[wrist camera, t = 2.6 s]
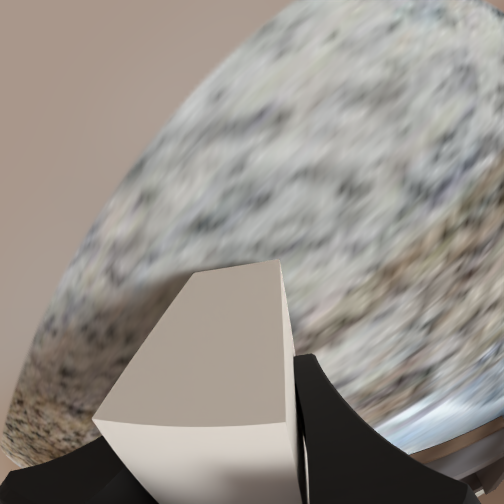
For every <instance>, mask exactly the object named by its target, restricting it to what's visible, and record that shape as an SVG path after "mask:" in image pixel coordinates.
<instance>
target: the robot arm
mask: <svg viewBox="0 0 504 504" xmlns="http://www.w3.org/2000/svg"><path fill="white" fill-rule="evenodd" d="M293 365H294V378H295V384H296V391H297V397H298V403H299V410H300V417H301V423H302V430H303V436H304V441H305V446H306V452H307V463H308V484H309V504H481V503H480V501H479V500H478V498H477V496H476V495H475V493H474V492H473V490H472V489H471V488H470V486H469V485H468V484H466V483H464V482H461V481H459V480H456V479H454V478H451V477H449V476H447V475H444V474H442V473H440V472H438V471H436V470H434V469H432V468H430V467H428V466H426V465H424V464H423V463H421V462H419V461H417V460H415V459H414V458H412V457H411V456H409V455H408V454H406V453H405V452H403V451H402V450H400V449H399V448H397V447H396V446H394V445H393V444H391V443H390V442H389V441H387V440H386V439H385V438H384V437H382V436H381V435H380V434H379V433H377V432H376V431H375V430H374V429H373V428H372V427H370V426H369V425H368V424H367V423H366V422H365V421H364V420H363V419H362V418H361V417H360V416H359V415H358V414H357V413H356V412H355V411H354V410H353V409H352V408H351V407H350V406H349V405H348V403H347V402H346V401H345V400H344V399H343V398H342V396H341V395H340V394H339V393H338V391H337V390H336V389H335V387H334V386H333V385H332V384H331V382H330V381H329V379H328V378H327V376H326V375H325V373H324V372H323V370H322V368H321V367H320V365H319V363H318V361H317V359H316V356H315V355H313V354H306V355H299V356H293ZM0 504H159V503H158V502H157V501H156V500H155V499H154V498H153V497H152V496H151V495H150V493H149V492H148V491H147V490H146V489H145V488H144V487H143V486H142V485H141V483H140V482H139V481H138V480H137V479H136V478H135V476H134V475H133V474H132V473H131V472H130V470H129V469H128V468H127V467H126V465H125V464H124V463H123V462H122V460H121V459H120V458H119V457H118V455H117V454H116V453H115V451H114V450H113V449H112V447H111V446H110V445H109V443H108V442H107V440H106V439H105V438H104V436H103V435H102V436H101V437H99V438H97V439H96V440H94V441H92V442H90V443H89V444H87V445H85V446H83V447H81V448H79V449H77V450H75V451H73V452H71V453H69V454H67V455H64V456H62V457H59V458H57V459H54V460H51V461H48V462H46V463H42V464H39V465H36V466H32V467H27V468H23V469H19V470H14V471H10V472H9V474H8V475H7V477H6V478H5V480H4V481H3V482H2V484H1V485H0Z"/></svg>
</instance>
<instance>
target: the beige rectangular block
mask: <svg viewBox="0 0 504 504" xmlns="http://www.w3.org/2000/svg"><path fill="white" fill-rule="evenodd" d="M293 356H295V350H294V343H293V337H292V330H291V324H290V318H289V312H288V306H287V300H286V294H285V288H284V282H283V276H282V270H281V264H280V259H277V260H271V261H264V262H258V263H252V264H246V265H240V266H234V267H228V268H221V269H215V270H209V271H203V272H196V273H193V274H192V276H191V277H190V279H189V280H188V281H187V283H186V284H185V285H184V287H183V288H182V289H181V291H180V292H179V294H178V295H177V296H176V298H175V299H174V300H173V302H172V303H171V305H170V306H169V307H168V309H167V310H166V311H165V313H164V314H163V316H162V317H161V318H160V320H159V321H158V323H157V324H156V325H155V327H154V328H153V330H152V331H151V332H150V334H149V335H148V337H147V338H146V340H145V341H144V342H143V344H142V345H141V347H140V348H139V350H138V351H137V352H136V354H135V355H134V357H133V358H132V360H131V361H130V362H129V364H128V365H127V367H126V368H125V370H124V371H123V373H122V374H121V376H120V377H119V378H118V380H117V381H116V383H115V384H114V386H113V387H112V389H111V390H110V392H109V393H108V395H107V396H106V398H105V399H104V401H103V402H102V404H101V405H100V407H99V408H98V410H97V411H96V413H95V414H94V416H93V417H92V420H93V422H94V423H95V425H96V426H97V428H98V429H99V430H100V432H101V433H102V435H103V436H104V438H105V439H106V440H107V442H108V443H109V445H110V446H111V447H112V449H113V450H114V451H115V453H116V454H117V455H118V457H119V458H120V459H121V460H122V462H123V463H124V464H125V465H126V467H127V468H128V469H129V470H130V472H131V473H132V474H133V475H134V476H135V478H136V479H137V480H138V481H139V482H140V483H141V485H142V486H143V487H144V488H145V489H146V490H147V491H148V492H149V493H150V495H151V496H152V497H153V498H154V499H155V500H156V501H157V502H158V503H159V504H309V484H308V463H307V452H306V446H305V441H304V436H303V430H302V423H301V417H300V410H299V403H298V397H297V391H296V384H295V378H294V365H293Z"/></svg>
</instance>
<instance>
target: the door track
mask: <svg viewBox="0 0 504 504" xmlns="http://www.w3.org/2000/svg"><path fill="white" fill-rule="evenodd" d="M409 456H411V457H412V458H414V459H415V460H417V461H419V462H421V463H423V464H424V465H426V466H428V467H430V468H432V469H434V470H436V471H438V472H440V473H442V474H444V475H447V476H449V477H451V478H454V479H456V480H459V481H461V482H464V483H466V484H468V485H469V486H470V488H471V489H472V490H473V492H474V493H476V492H478V491H480V490H482V489H483V490H484V492H485V494H488V493H490V492H491V491H493V490H495V489H496V488H497V487H498V485H499V484H500V483H501V482H502V480H503V479H504V419H503V417H502V416H500V417H499V418H497V419H495V420H493V421H491V422H489V423H487V424H485V425H483V426H481V427H479V428H477V429H475V430H473V431H470V432H468V433H466V434H464V435H461V436H459V437H457V438H454V439H452V440H450V441H447V442H445V443H442V444H440V445H437V446H434V447H432V448H429V449H426V450H423V451H420V452H417V453H414V454H411V455H409Z"/></svg>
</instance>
